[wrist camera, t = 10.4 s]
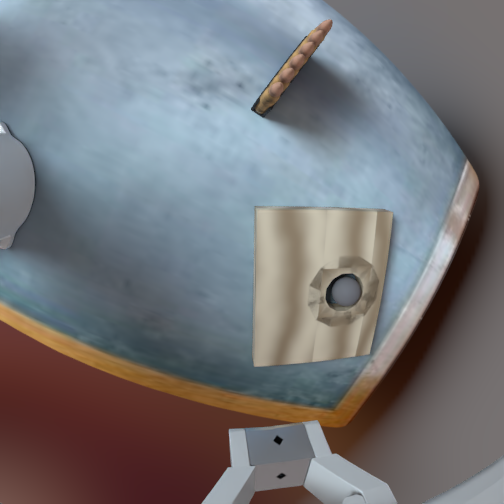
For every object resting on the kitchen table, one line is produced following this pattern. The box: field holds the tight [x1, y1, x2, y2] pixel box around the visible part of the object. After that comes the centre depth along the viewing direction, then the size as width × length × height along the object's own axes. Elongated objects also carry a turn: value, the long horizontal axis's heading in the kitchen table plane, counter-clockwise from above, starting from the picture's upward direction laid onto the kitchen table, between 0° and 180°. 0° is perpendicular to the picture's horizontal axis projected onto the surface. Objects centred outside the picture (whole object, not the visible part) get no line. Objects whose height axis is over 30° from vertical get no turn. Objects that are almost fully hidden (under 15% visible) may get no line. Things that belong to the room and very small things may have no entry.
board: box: [252, 206, 393, 367], centre depth 41 cm, size 18×22×2 cm
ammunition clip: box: [251, 20, 333, 117], centre depth 28 cm, size 11×2×12 cm, turn 147°
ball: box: [332, 277, 361, 306], centre depth 40 cm, size 4×4×4 cm
